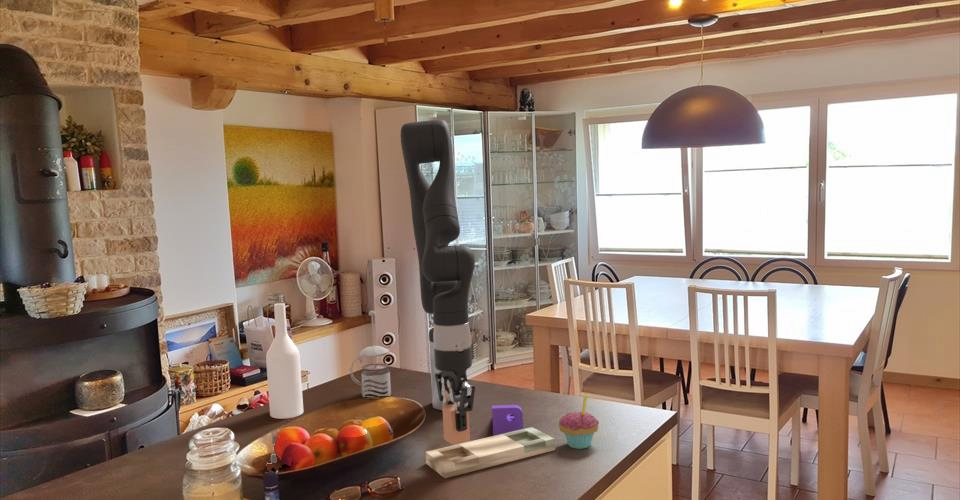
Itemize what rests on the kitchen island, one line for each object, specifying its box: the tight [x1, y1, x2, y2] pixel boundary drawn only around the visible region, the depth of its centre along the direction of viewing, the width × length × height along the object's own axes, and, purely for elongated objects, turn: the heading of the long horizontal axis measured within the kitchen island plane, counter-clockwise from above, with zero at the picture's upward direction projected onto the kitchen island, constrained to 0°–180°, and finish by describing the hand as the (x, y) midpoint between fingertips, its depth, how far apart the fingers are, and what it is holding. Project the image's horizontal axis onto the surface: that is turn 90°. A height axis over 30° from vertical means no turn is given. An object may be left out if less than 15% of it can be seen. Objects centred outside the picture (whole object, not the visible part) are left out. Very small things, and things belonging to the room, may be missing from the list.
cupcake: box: [558, 391, 600, 450], centre depth 149 cm, size 9×8×12 cm
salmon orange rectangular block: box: [442, 402, 471, 446], centre depth 141 cm, size 4×4×7 cm
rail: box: [425, 426, 556, 479], centre depth 145 cm, size 9×26×2 cm, turn 118°
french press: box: [349, 310, 392, 398], centre depth 188 cm, size 10×12×25 cm
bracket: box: [491, 404, 524, 436], centre depth 163 cm, size 12×7×7 cm, turn 179°
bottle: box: [265, 302, 304, 420], centre depth 174 cm, size 8×8×30 cm
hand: (456, 426), depth 141 cm, fingers closed on salmon orange rectangular block, 4 cm apart
